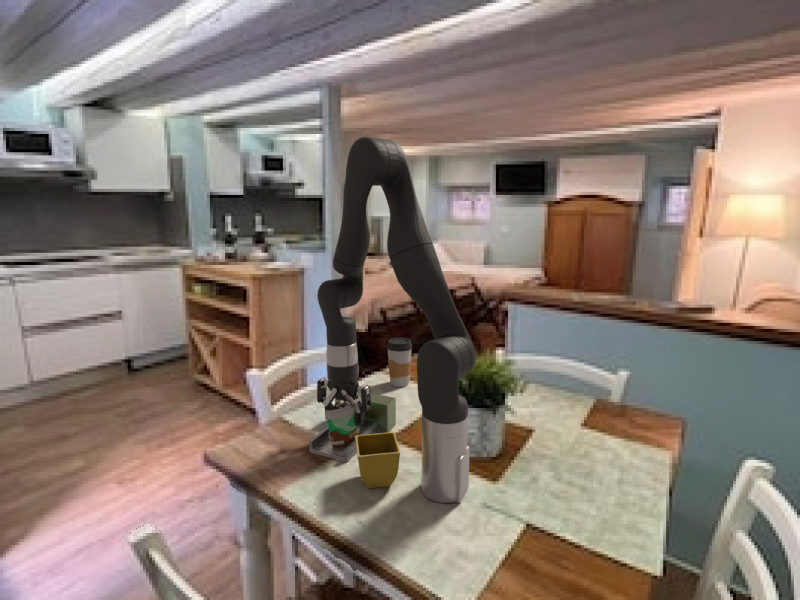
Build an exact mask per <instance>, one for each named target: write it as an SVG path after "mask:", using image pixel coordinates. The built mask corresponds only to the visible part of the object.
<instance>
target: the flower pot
mask: <svg viewBox="0 0 800 600" xmlns="http://www.w3.org/2000/svg"><path fill="white" fill-rule="evenodd" d="M355 439H356V447H357V453H356V454H357V461H358V469H359V475H360V478H361V481H362V482H363V484H364V485H365V487H366V488H367V489H374V488H383V487H390V486H392V485H393V483H394V482H395V480H396V478H397V476H398V472H399V466H400V459H401V458H400V457H401V456H400V455H401V449H400V447H399V444H398V440H397V436H396V433H395V432H394V431H390V432H388V433H383V432H380V433H379V432H378V433H377V434H367V435H358V436H355Z"/></svg>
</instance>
